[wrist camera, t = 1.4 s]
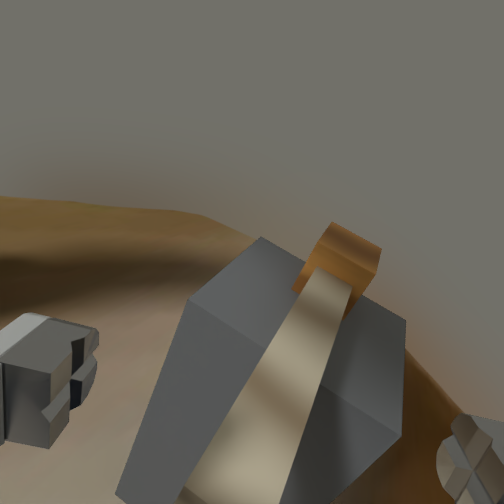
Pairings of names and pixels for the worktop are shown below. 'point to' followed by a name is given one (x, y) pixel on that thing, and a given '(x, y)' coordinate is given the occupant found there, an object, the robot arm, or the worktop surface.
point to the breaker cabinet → (242, 366)
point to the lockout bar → (284, 380)
